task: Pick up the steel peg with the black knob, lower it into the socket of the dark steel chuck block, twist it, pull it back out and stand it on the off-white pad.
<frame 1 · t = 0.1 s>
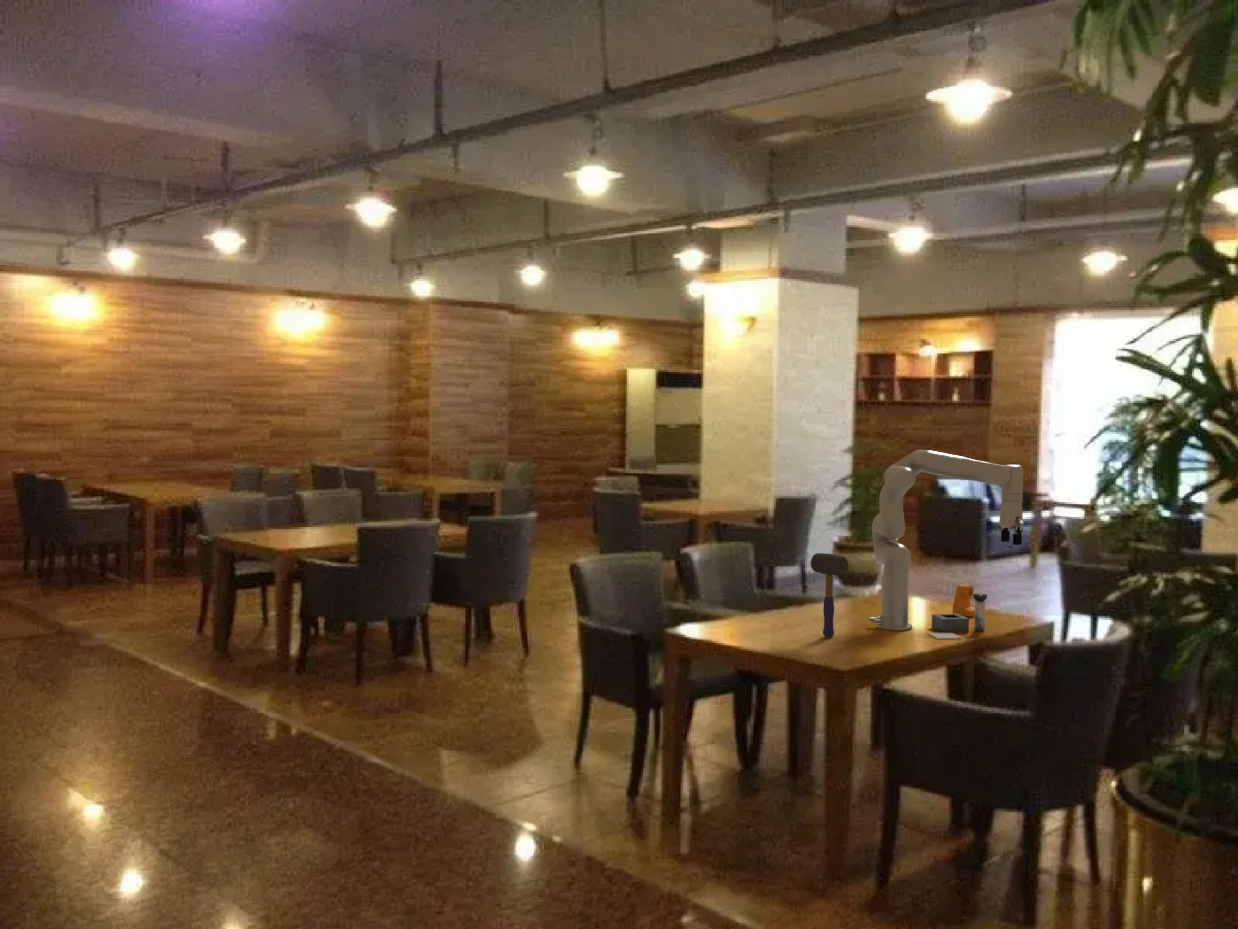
hand: (1011, 543, 433), 31 cm above the table, tool pointing down, fingers open, 9 cm apart
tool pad: (944, 636, 413), on the table
bracket: (967, 615, 456), on the table
steel peg: (979, 630, 424), on the table
chuck block: (950, 629, 425), on the table
rubber mallet: (828, 638, 411), on the table
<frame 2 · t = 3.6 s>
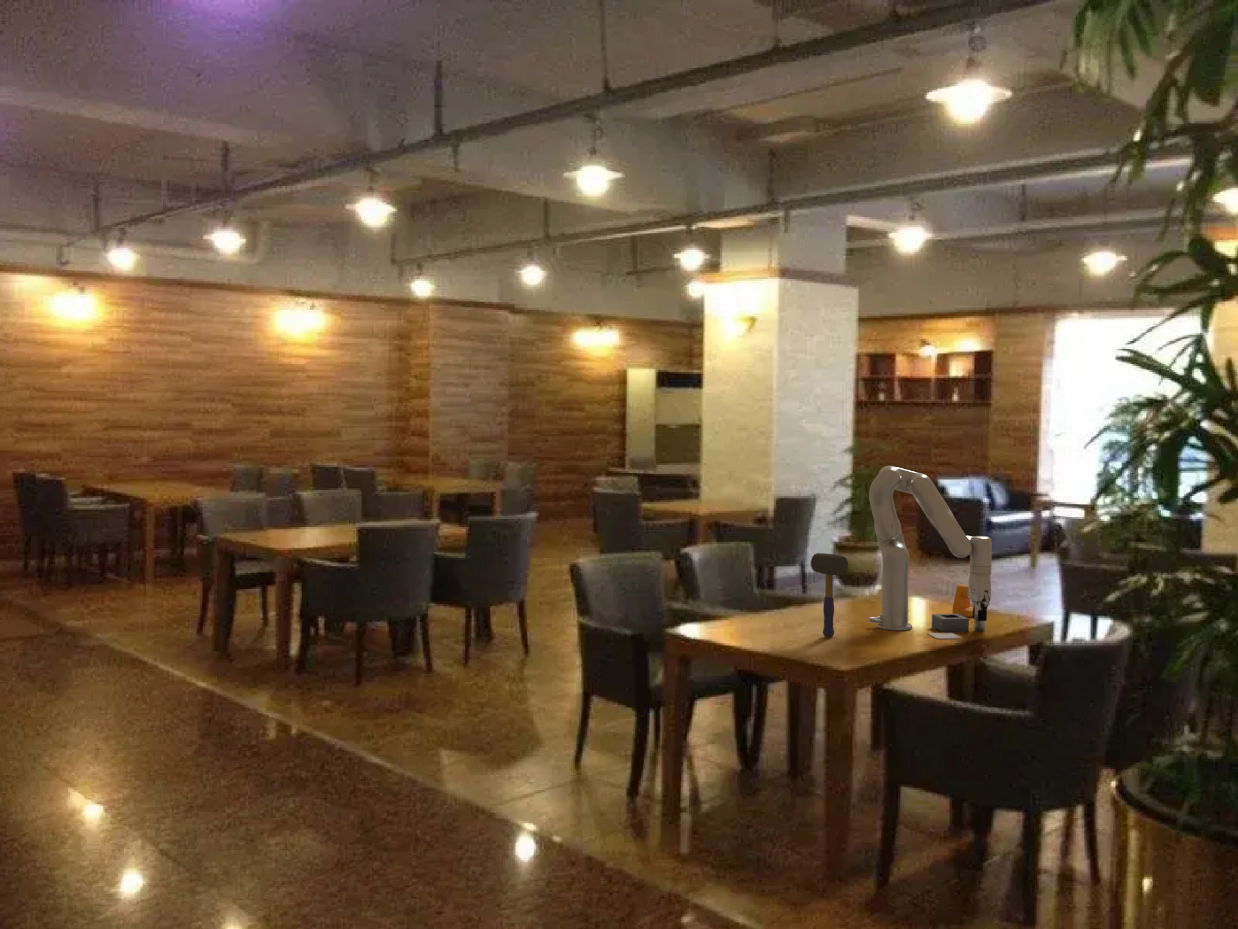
hand: (979, 619, 423), 4 cm above the table, tool pointing down, fingers closed on steel peg, 3 cm apart
steel peg: (979, 630, 424), on the table, touching gripper
everything else where it was.
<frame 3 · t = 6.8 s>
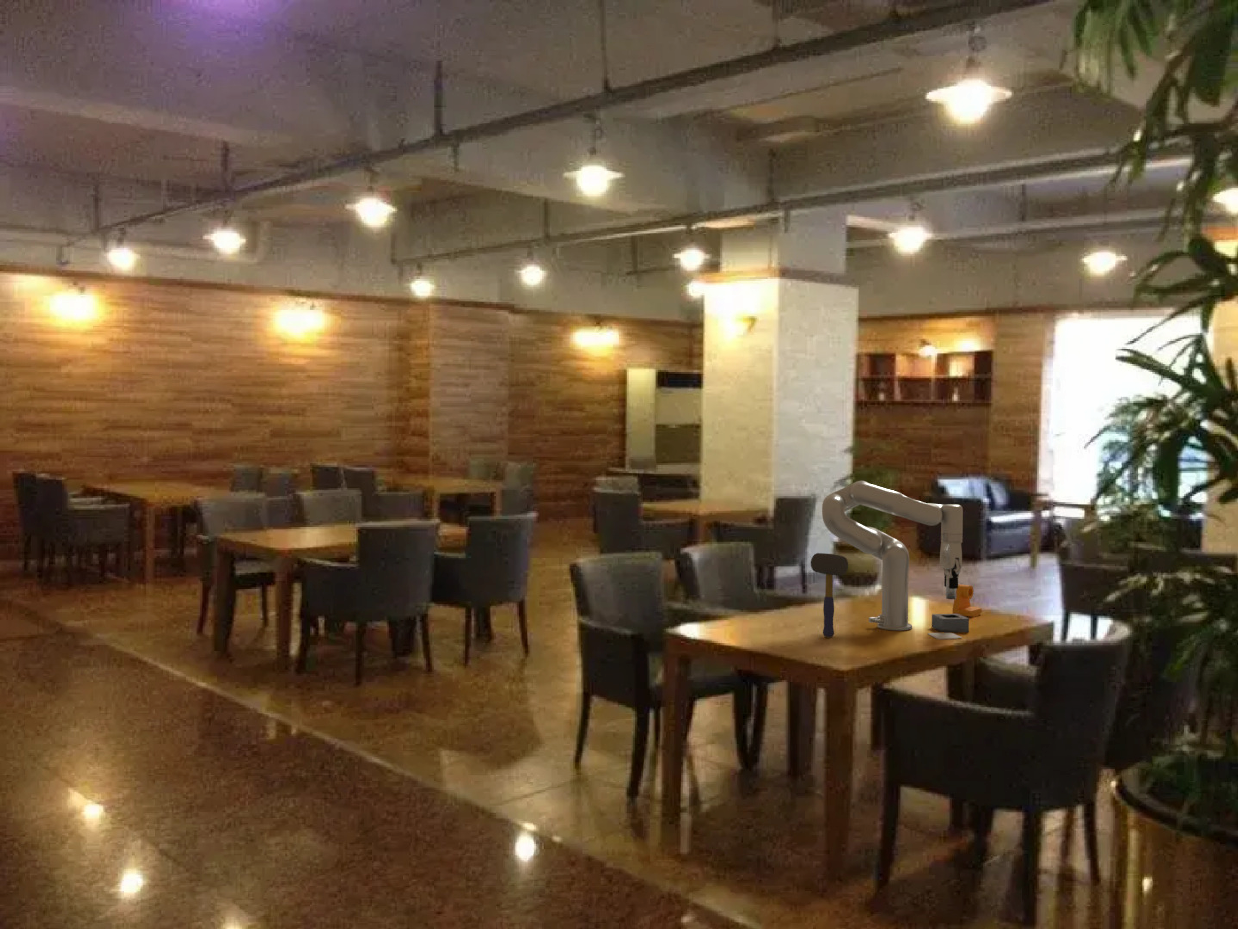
hand: (951, 587, 425), 16 cm above the table, tool pointing down, fingers closed on steel peg, 3 cm apart
steel peg: (951, 598, 425), point 12 cm above the table, touching gripper
everything else where it was.
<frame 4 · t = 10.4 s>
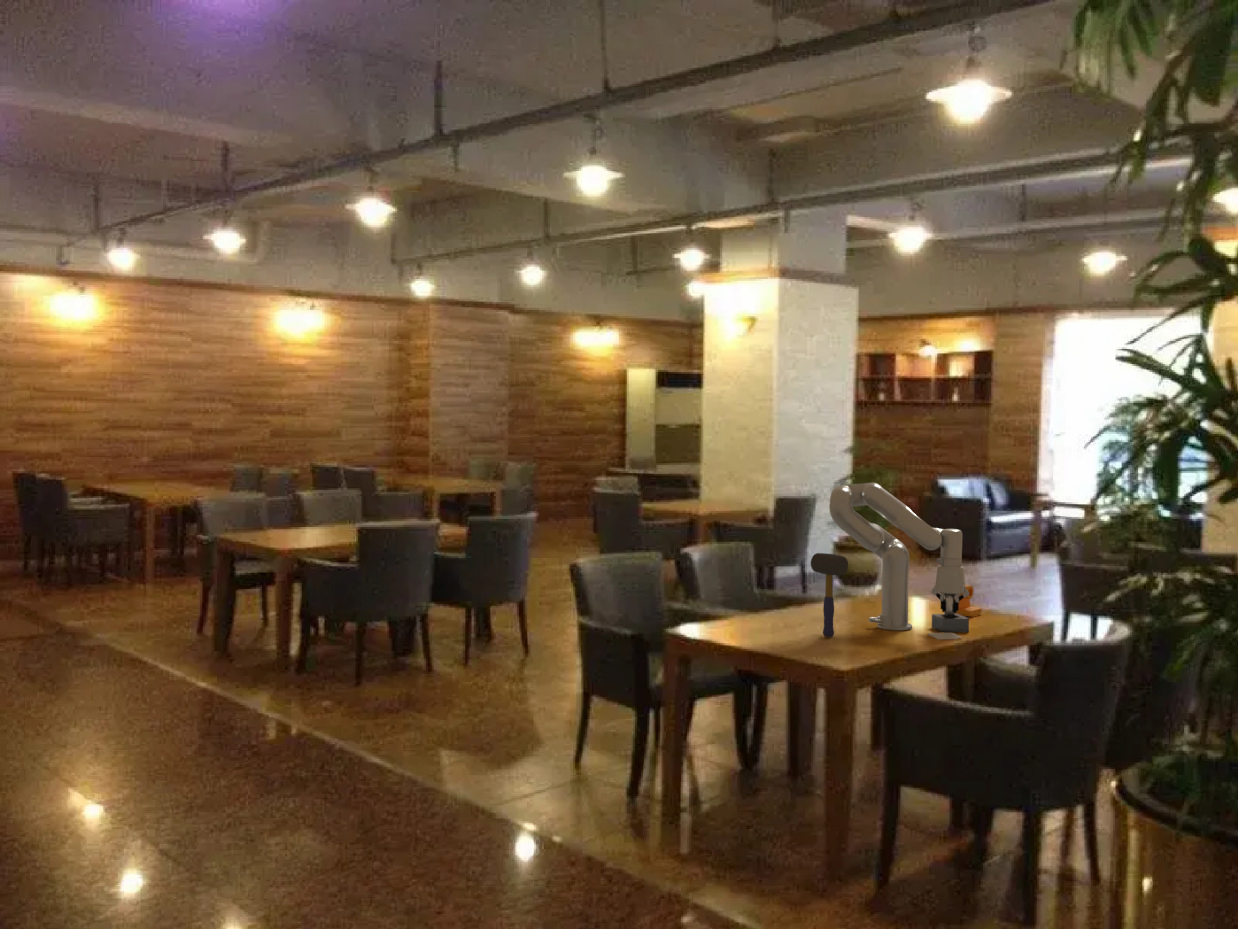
hand: (949, 611, 425), 7 cm above the table, tool pointing down, fingers closed on steel peg, 3 cm apart
steel peg: (949, 623, 425), point 2 cm above the table, touching gripper
everything else where it was.
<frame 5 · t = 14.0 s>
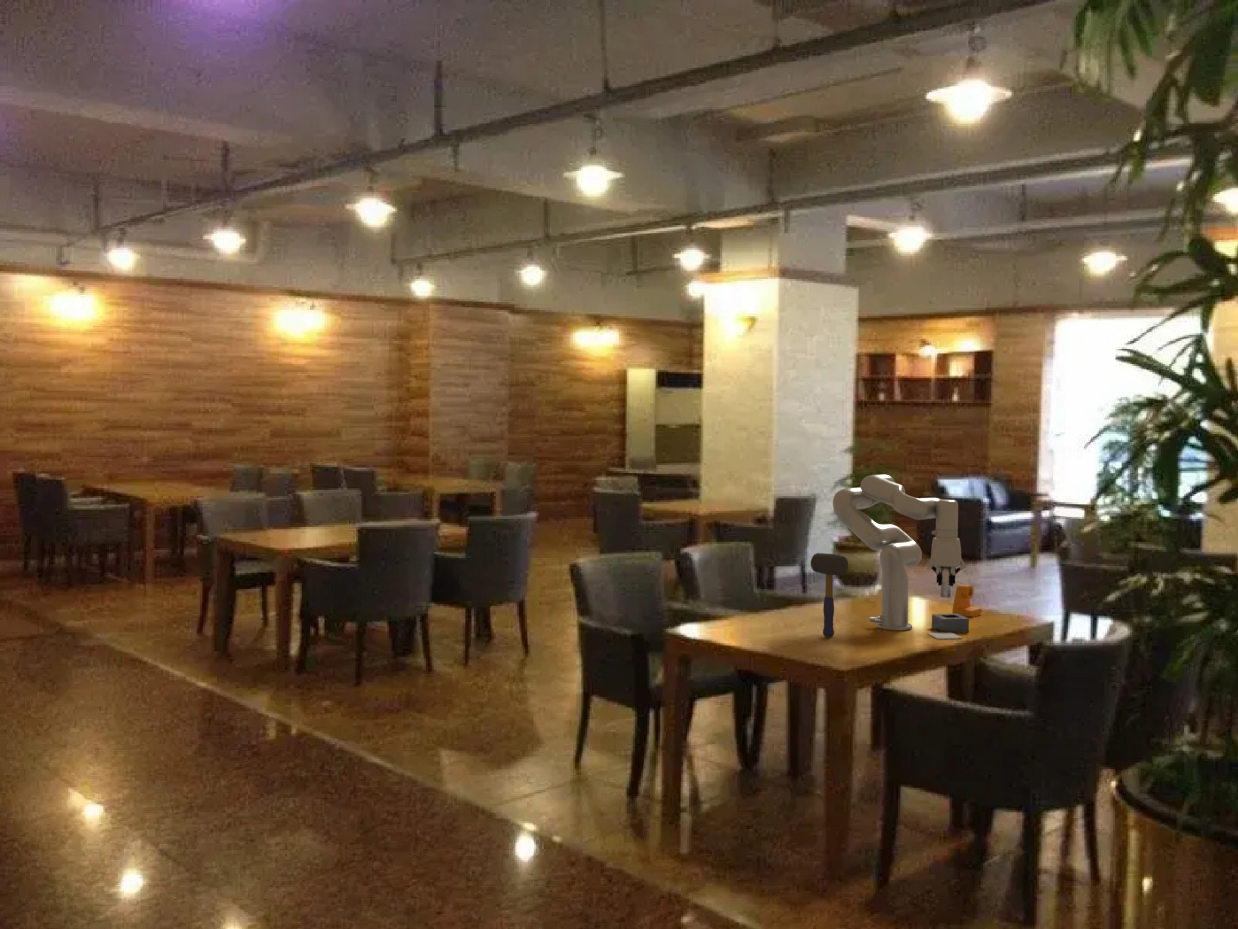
hand: (945, 585, 412), 19 cm above the table, tool pointing down, fingers closed on steel peg, 3 cm apart
steel peg: (945, 596, 412), point 14 cm above the table, touching gripper
everything else where it was.
when the fingers open (5 cm above the table, at t = 17.2 s): steel peg stays where it is, resting on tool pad.
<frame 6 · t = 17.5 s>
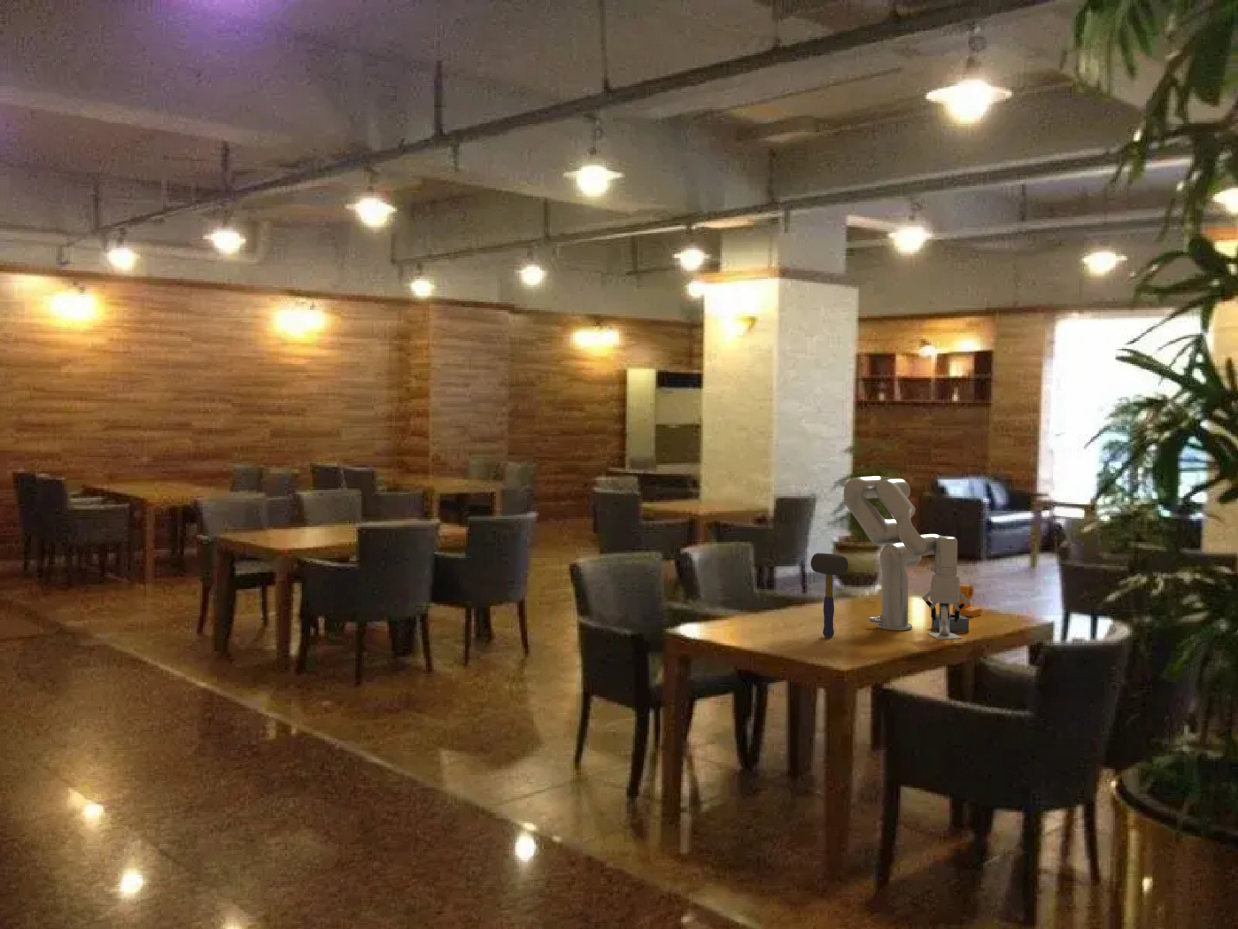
hand: (945, 620, 412), 6 cm above the table, tool pointing down, fingers open, 7 cm apart
steel peg: (944, 635, 413), point 1 cm above the table, touching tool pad
everything else where it was.
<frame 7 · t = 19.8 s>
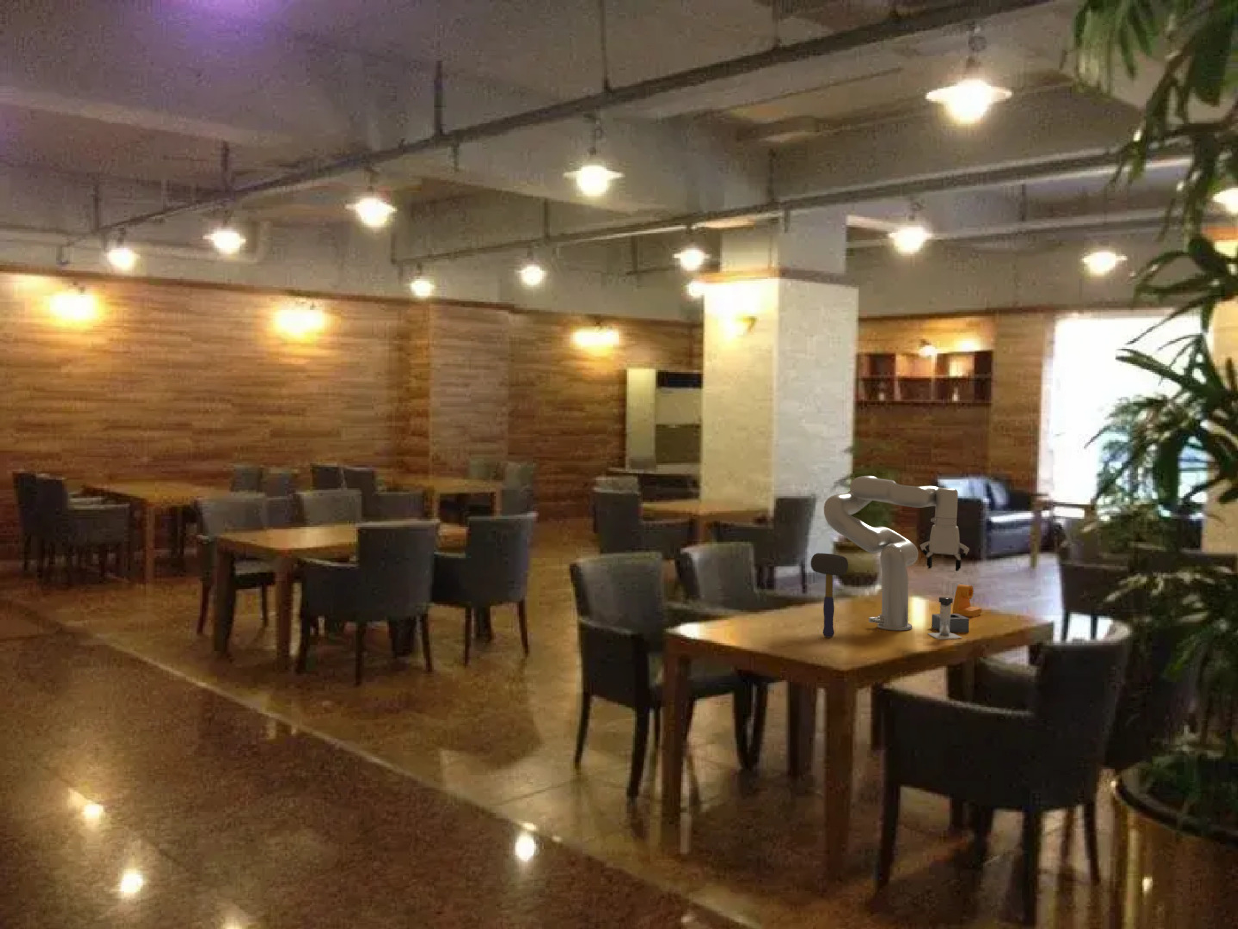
hand: (943, 569, 417), 24 cm above the table, tool pointing down, fingers open, 9 cm apart
nothing on the table moved.
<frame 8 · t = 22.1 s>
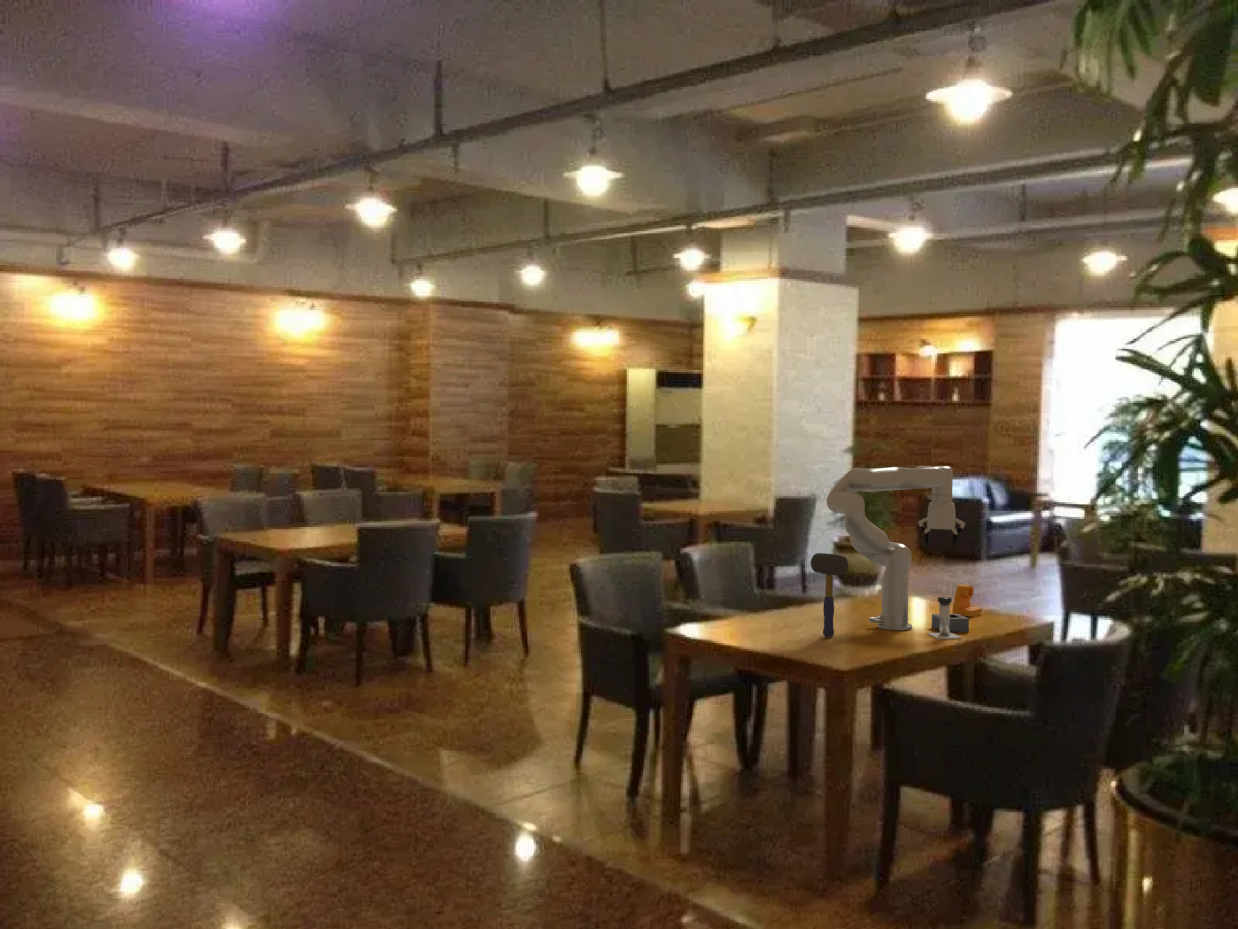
hand: (941, 544, 436), 30 cm above the table, tool pointing down, fingers open, 9 cm apart
nothing on the table moved.
at the end: steel peg 0.1 cm off-centre on the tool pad, point 0.5 cm above the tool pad's base; steel peg tilted 1°; the gripper is holding nothing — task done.
